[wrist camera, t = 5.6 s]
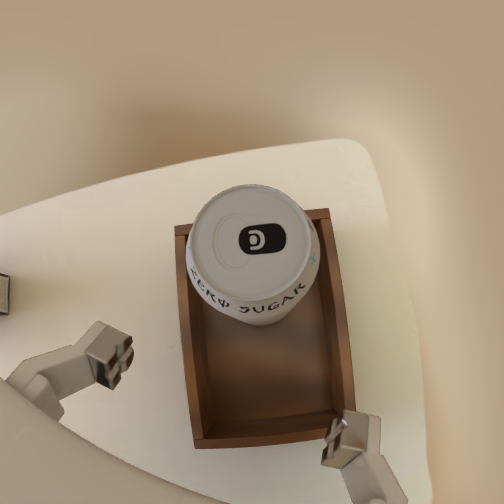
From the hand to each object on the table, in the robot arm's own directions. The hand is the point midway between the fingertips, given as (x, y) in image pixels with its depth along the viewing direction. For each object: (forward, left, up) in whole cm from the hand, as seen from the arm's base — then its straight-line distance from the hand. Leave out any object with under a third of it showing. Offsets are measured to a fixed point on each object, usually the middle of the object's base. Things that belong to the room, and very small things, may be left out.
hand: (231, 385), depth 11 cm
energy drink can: (+5, -1, -16) cm, 17 cm away
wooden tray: (+2, -1, -16) cm, 16 cm away
